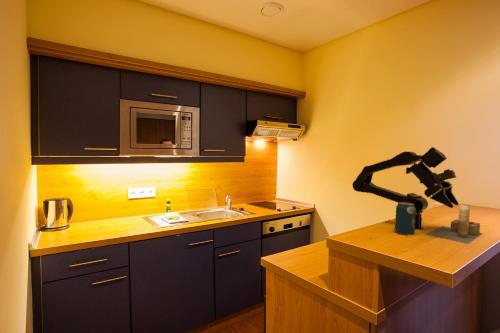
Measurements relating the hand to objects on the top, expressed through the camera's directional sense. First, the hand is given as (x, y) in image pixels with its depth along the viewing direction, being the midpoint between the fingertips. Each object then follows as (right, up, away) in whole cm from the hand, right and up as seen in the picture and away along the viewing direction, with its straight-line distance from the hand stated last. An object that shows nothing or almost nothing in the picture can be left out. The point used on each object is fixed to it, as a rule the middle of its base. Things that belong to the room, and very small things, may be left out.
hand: (455, 205), depth 112 cm
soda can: (-18, -11, +3) cm, 22 cm away
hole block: (+8, -11, +5) cm, 15 cm away
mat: (+1, -12, +2) cm, 12 cm away
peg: (+2, -12, -1) cm, 12 cm away
